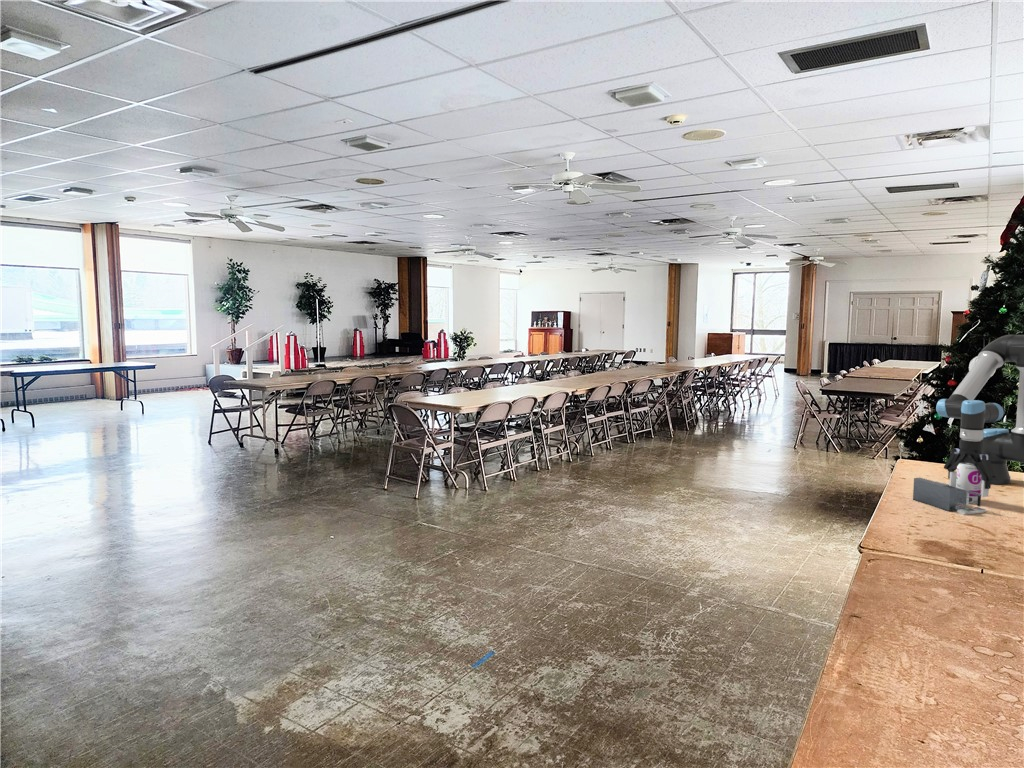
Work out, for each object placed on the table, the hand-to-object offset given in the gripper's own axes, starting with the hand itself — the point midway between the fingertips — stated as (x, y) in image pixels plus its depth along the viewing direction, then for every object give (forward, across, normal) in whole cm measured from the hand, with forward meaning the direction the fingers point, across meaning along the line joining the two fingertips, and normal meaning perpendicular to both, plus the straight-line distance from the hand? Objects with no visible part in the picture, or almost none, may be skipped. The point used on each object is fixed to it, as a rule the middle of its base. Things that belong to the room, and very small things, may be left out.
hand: (968, 492), depth 255 cm
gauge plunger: (+3, +2, -9) cm, 9 cm away
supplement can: (+4, 0, 0) cm, 4 cm away
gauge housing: (+4, +3, -13) cm, 14 cm away
